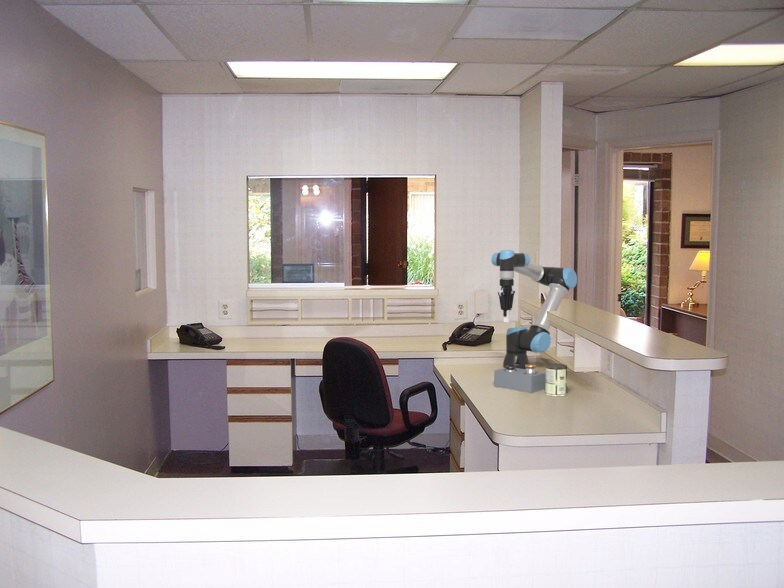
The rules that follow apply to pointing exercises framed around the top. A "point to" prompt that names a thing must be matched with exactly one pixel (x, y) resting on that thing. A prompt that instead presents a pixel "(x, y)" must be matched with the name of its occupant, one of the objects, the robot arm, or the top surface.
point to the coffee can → (556, 380)
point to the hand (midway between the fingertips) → (506, 322)
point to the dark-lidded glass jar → (510, 368)
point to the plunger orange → (530, 369)
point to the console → (519, 380)
